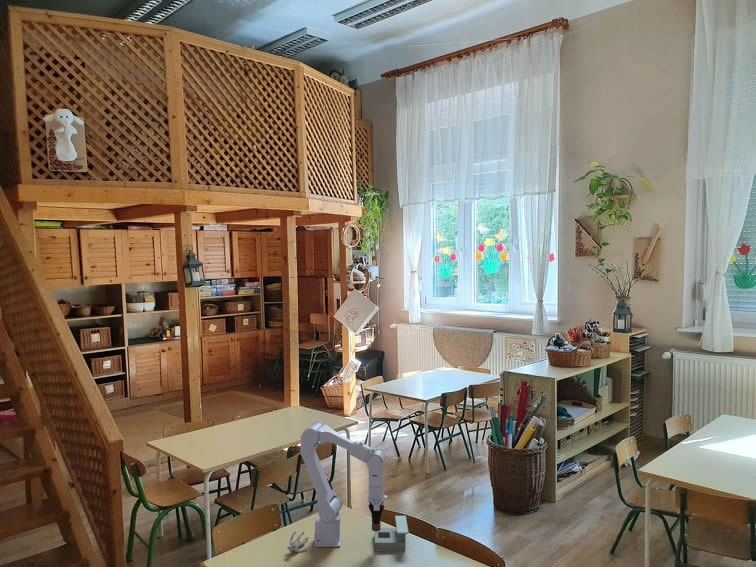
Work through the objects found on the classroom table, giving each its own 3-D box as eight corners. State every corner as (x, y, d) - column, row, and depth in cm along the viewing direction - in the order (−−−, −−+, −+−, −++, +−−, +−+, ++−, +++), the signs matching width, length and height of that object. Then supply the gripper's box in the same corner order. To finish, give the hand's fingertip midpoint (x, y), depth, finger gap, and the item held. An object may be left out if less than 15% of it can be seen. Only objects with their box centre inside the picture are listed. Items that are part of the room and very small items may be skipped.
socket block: (374, 552, 197) (375, 532, 197) (374, 534, 210) (374, 515, 210) (408, 552, 197) (408, 532, 197) (405, 534, 210) (405, 515, 210)
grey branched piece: (313, 544, 204) (305, 550, 193) (303, 553, 204) (294, 560, 192) (301, 527, 206) (292, 532, 195) (291, 536, 206) (281, 541, 194)
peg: (371, 531, 198) (372, 507, 198) (371, 527, 201) (371, 503, 201) (380, 531, 198) (380, 506, 198) (380, 527, 201) (380, 503, 201)
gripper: (388, 492, 192) (387, 531, 192) (386, 476, 206) (386, 512, 207) (368, 492, 192) (367, 531, 192) (368, 476, 206) (367, 512, 207)
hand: (376, 521), depth 199 cm, fingers closed on peg, 3 cm apart
